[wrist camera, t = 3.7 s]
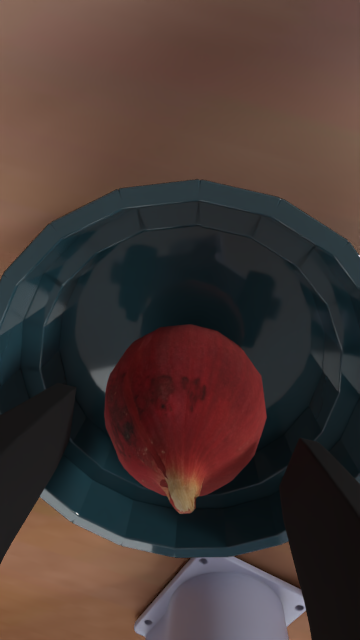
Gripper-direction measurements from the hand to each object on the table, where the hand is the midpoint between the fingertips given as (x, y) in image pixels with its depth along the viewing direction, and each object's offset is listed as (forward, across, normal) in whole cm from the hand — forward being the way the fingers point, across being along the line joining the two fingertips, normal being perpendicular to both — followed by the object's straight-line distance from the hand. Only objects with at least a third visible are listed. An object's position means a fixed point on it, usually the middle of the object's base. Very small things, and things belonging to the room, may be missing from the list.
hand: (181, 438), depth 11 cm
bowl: (+6, 0, 0) cm, 6 cm away
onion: (+6, 0, 0) cm, 6 cm away
